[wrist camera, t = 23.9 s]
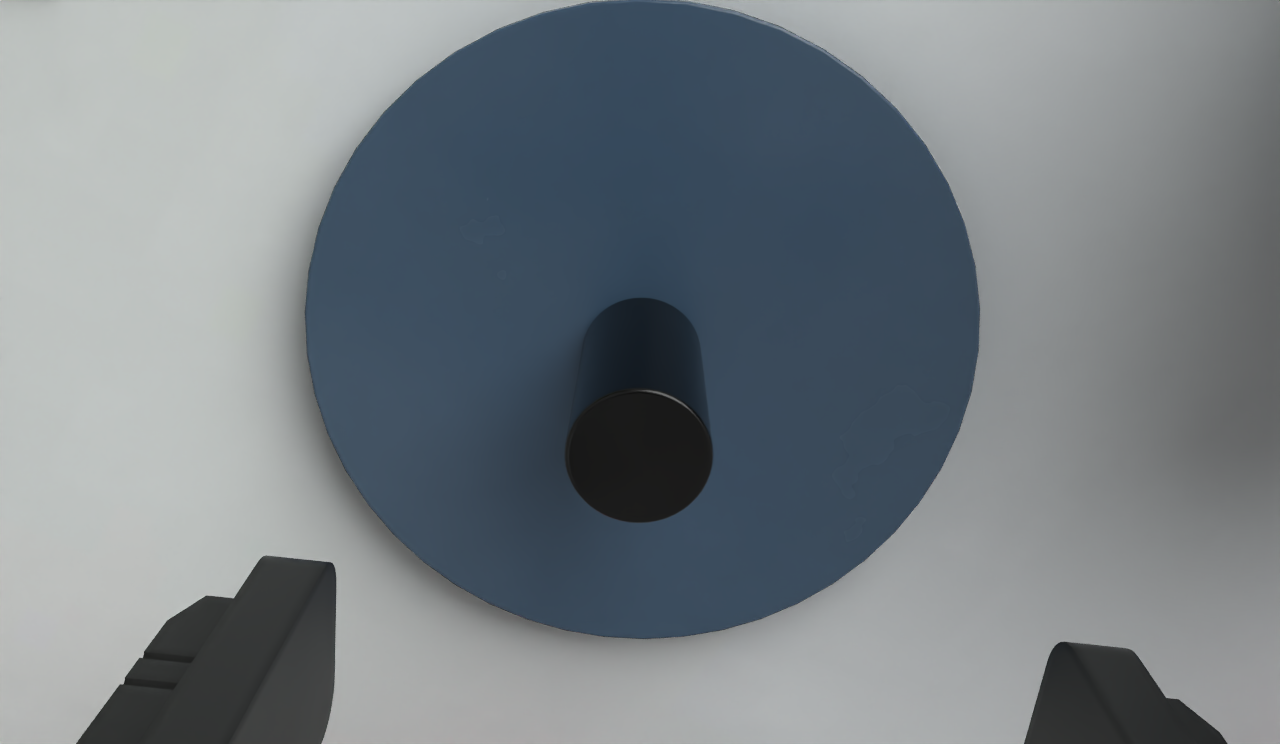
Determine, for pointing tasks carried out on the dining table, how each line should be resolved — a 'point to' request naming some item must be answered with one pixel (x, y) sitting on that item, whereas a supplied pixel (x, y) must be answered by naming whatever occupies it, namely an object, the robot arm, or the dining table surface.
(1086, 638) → the dining table surface
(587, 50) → the lid
